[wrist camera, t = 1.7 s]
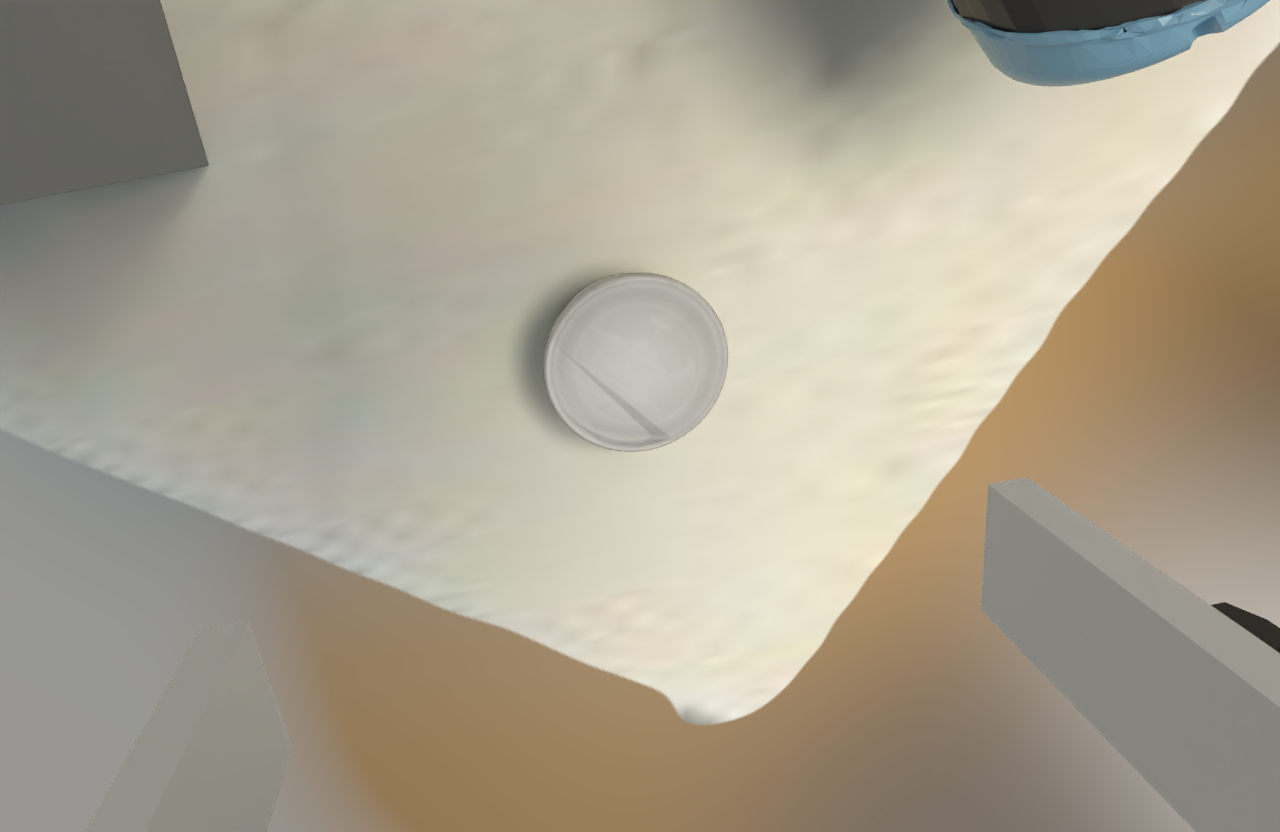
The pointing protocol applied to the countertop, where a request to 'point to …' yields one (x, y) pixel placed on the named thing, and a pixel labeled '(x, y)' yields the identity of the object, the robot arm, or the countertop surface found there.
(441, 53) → the countertop surface
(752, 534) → the countertop surface
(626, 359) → the ramekin
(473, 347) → the countertop surface
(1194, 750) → the robot arm
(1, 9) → the stand
